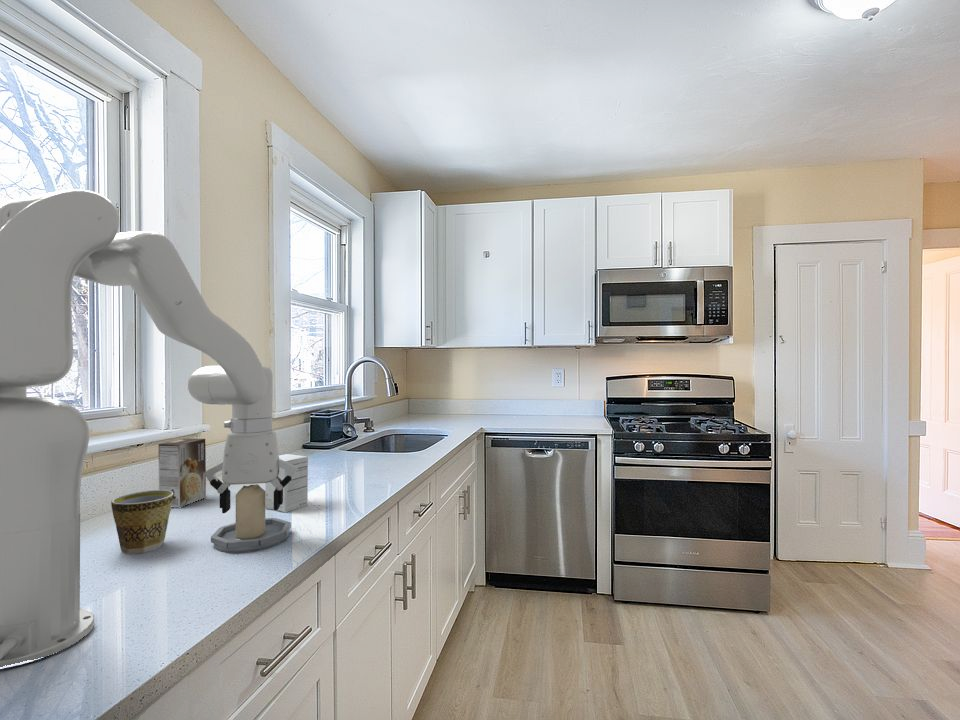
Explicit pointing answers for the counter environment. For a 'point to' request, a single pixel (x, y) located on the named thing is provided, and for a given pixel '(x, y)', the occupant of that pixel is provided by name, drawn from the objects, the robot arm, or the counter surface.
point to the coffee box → (183, 470)
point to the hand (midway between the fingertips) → (251, 509)
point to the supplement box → (290, 485)
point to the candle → (250, 512)
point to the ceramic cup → (142, 519)
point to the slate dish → (273, 535)
